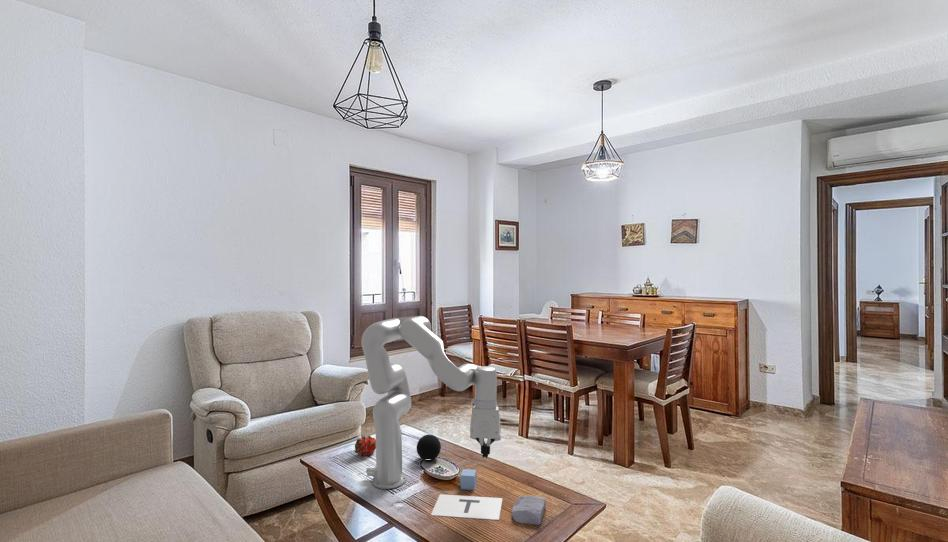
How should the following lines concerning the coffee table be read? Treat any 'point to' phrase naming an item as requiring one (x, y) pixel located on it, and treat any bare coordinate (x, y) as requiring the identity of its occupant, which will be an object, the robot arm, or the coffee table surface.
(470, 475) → the blue cube
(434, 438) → the decorative ball
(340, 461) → the coffee table surface
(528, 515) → the stone block
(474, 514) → the letter sheet
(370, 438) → the dragon fruit
